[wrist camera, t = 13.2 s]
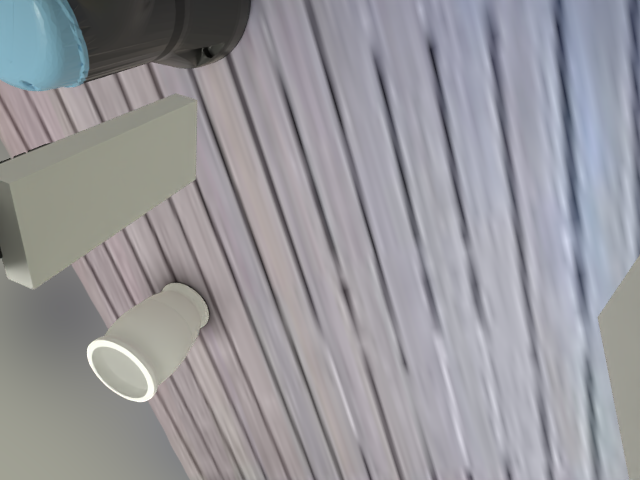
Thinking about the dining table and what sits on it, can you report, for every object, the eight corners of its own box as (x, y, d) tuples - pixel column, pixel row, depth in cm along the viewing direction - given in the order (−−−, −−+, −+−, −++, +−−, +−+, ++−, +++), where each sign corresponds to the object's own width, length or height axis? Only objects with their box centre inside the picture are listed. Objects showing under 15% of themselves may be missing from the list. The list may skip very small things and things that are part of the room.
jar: (145, 285, 75) (72, 349, 63) (188, 267, 69) (116, 333, 57) (184, 337, 78) (121, 407, 66) (228, 324, 72) (168, 398, 60)
